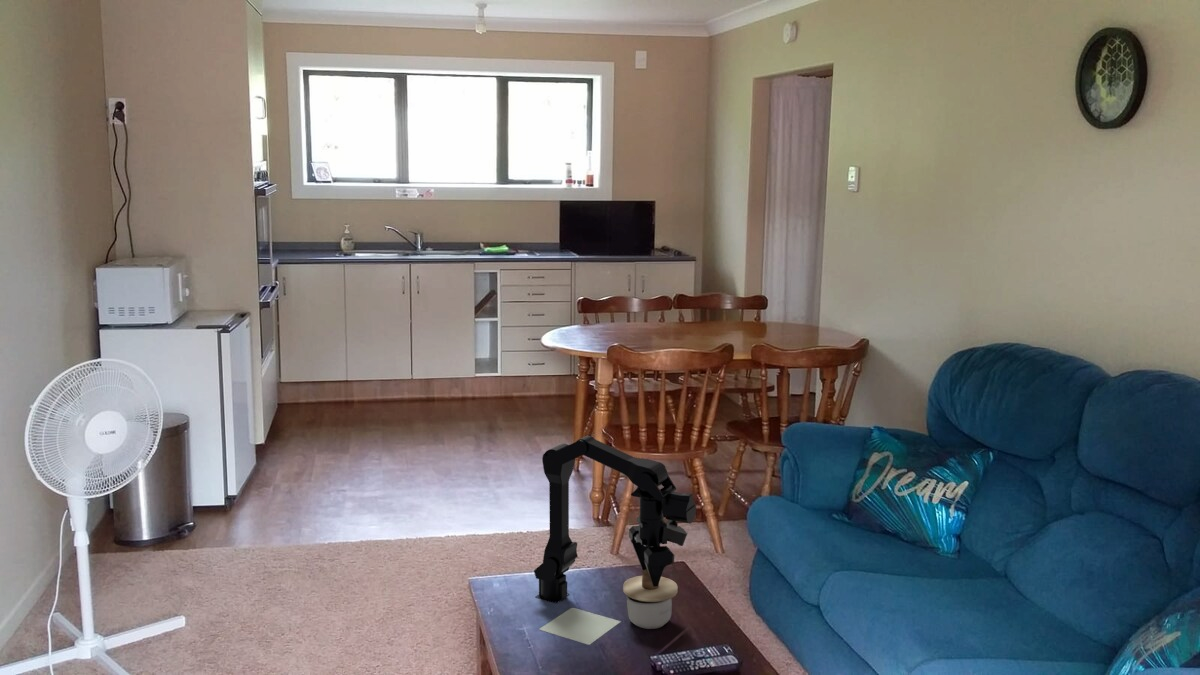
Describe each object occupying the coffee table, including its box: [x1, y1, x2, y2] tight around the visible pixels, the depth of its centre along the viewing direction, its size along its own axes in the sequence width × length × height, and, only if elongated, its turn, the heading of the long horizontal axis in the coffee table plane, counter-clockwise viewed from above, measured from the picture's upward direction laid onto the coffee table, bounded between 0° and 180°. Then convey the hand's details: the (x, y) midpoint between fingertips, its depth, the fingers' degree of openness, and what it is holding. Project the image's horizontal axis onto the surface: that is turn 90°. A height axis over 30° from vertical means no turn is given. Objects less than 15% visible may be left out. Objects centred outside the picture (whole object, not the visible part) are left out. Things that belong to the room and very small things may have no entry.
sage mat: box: [538, 607, 622, 646], centre depth 231 cm, size 14×14×1 cm
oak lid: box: [622, 569, 679, 602], centre depth 233 cm, size 13×13×4 cm
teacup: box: [625, 594, 673, 630], centre depth 234 cm, size 14×11×8 cm
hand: (650, 578), depth 233 cm, fingers open, 9 cm apart
